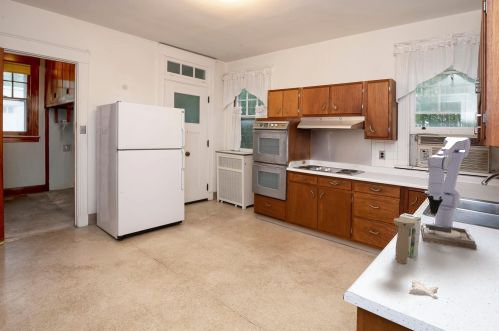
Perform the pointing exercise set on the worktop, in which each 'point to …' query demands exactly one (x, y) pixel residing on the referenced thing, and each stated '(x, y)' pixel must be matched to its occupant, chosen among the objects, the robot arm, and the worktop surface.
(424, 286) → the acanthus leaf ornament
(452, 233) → the dial
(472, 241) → the dial housing
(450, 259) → the worktop surface
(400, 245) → the handle
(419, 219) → the syrup box
